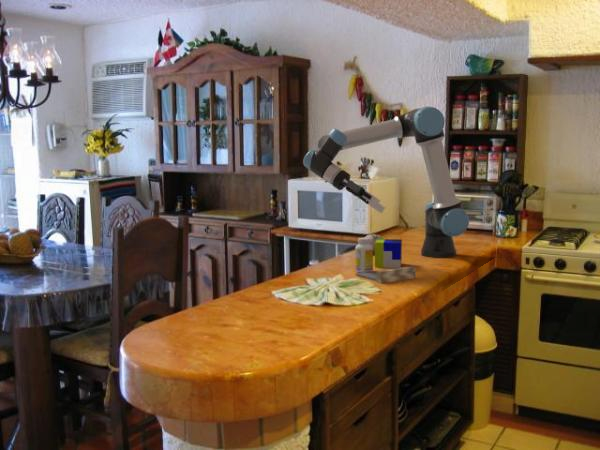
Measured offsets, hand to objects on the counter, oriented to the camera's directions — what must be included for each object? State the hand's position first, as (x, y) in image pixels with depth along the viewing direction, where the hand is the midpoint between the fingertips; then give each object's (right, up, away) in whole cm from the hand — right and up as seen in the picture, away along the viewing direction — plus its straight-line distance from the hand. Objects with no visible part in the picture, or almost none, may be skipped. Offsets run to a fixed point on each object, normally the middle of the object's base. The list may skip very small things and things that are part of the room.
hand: (380, 207), depth 237 cm
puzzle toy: (+5, -23, +12) cm, 27 cm away
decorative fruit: (+2, -20, +40) cm, 45 cm away
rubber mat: (-1, -26, -10) cm, 28 cm away
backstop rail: (+3, -27, -17) cm, 32 cm away
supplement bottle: (-7, -25, -1) cm, 26 cm away
